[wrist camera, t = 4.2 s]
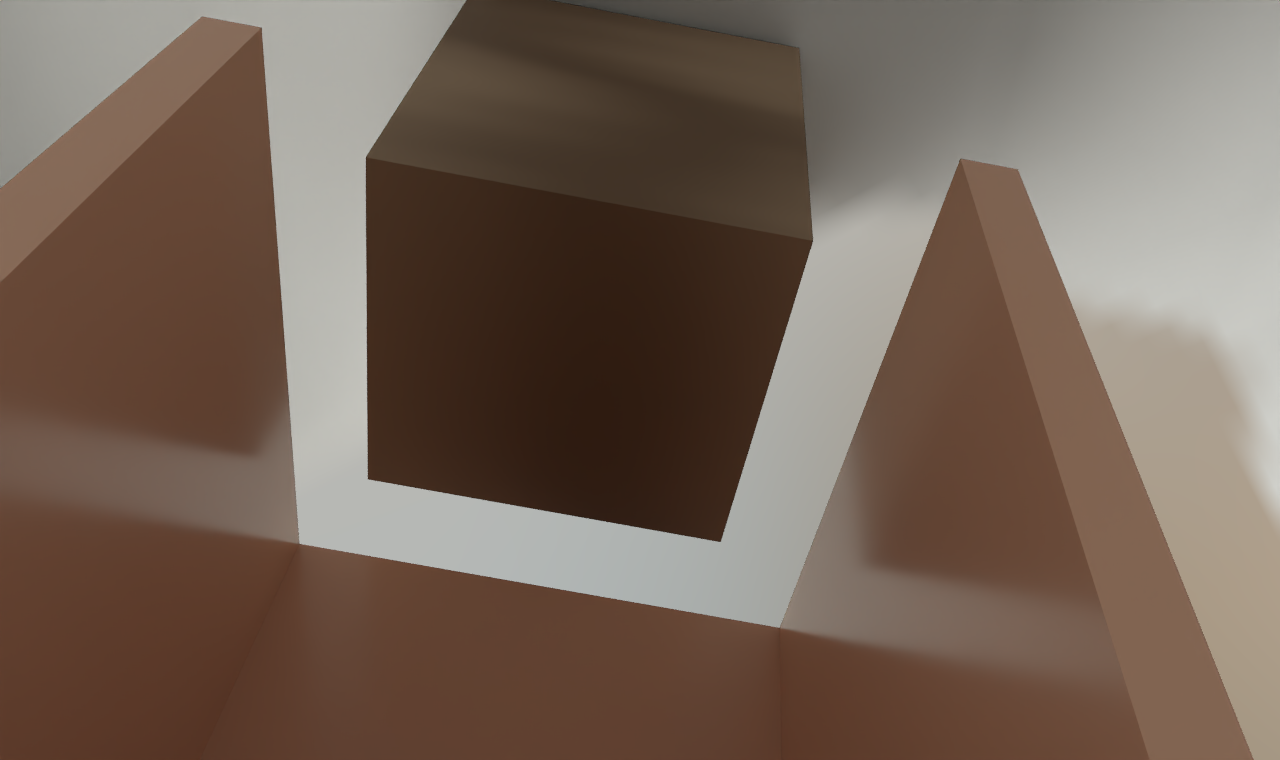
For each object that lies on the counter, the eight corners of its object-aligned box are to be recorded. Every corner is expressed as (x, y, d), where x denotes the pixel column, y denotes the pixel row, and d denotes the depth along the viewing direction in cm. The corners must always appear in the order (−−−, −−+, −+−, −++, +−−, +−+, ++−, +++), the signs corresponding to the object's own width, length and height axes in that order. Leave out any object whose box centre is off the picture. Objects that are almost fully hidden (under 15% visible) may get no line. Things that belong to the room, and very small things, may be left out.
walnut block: (459, 261, 17) (368, 479, 13) (475, -14, 14) (365, 156, 10) (730, 311, 17) (720, 541, 13) (799, 48, 14) (813, 240, 10)
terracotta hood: (261, 563, 13) (-136, 1373, 7) (201, 16, 9) (-899, 951, 3) (809, 658, 13) (843, 1524, 8) (1017, 168, 9) (1485, 1335, 3)
